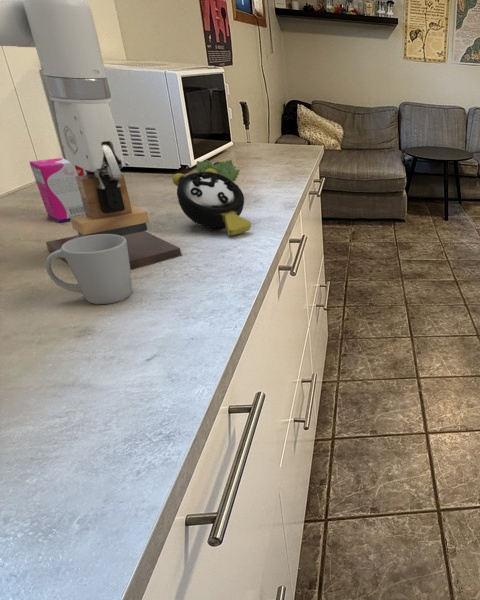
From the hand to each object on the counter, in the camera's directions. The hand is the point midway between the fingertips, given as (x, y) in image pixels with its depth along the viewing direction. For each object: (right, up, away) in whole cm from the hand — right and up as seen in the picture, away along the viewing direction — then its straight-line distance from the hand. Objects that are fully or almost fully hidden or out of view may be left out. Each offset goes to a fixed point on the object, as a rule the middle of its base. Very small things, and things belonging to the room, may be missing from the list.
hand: (109, 208), depth 79 cm
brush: (-1, -4, +2) cm, 4 cm away
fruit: (0, +10, +39) cm, 40 cm away
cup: (+5, -15, -9) cm, 18 cm away
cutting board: (-3, -7, +6) cm, 9 cm away
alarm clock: (+8, 0, +21) cm, 23 cm away
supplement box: (-23, +2, +20) cm, 30 cm away
